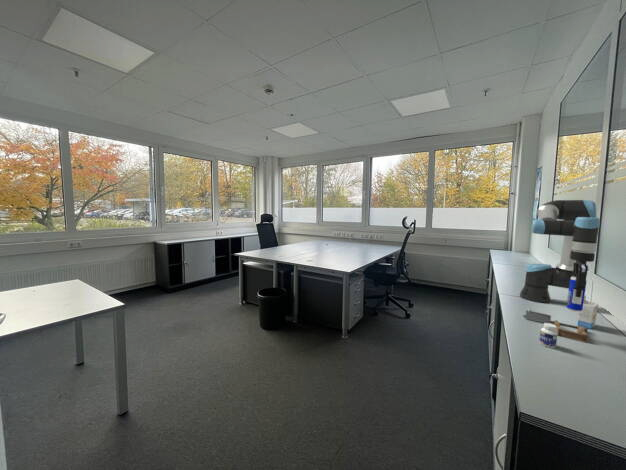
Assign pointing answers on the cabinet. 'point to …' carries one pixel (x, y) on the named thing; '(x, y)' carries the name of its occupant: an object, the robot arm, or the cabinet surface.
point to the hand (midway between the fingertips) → (575, 301)
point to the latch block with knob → (538, 316)
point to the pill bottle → (548, 335)
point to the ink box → (588, 314)
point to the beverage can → (570, 296)
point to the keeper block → (572, 335)
